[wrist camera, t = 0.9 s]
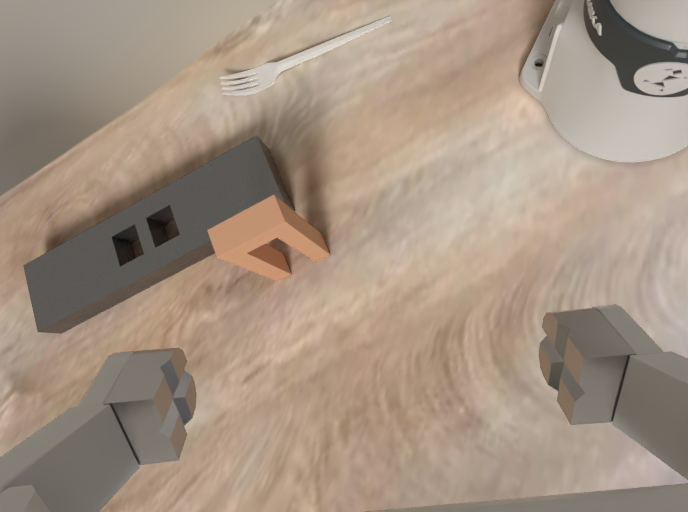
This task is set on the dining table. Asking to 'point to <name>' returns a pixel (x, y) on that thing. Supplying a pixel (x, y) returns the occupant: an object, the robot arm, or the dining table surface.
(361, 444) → the dining table surface
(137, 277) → the rail
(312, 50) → the fork
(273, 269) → the clip
